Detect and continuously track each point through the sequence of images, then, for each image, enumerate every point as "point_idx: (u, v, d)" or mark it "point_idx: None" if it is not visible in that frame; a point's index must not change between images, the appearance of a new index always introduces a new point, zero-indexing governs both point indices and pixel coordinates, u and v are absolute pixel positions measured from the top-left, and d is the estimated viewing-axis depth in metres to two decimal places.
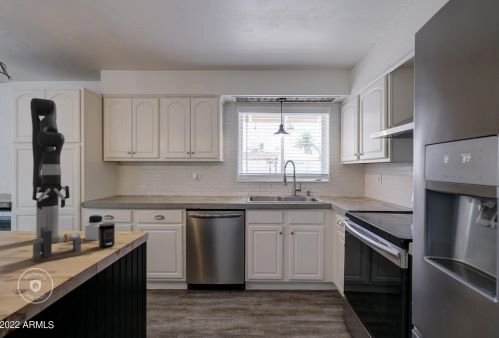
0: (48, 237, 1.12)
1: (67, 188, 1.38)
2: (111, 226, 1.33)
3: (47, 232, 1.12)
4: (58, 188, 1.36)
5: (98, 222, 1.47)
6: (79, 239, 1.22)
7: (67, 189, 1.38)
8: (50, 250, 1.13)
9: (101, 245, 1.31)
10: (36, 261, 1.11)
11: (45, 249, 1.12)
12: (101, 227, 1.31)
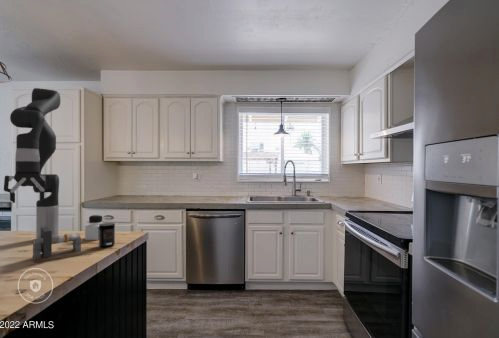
0: (48, 237, 1.12)
1: (47, 178, 1.16)
2: (111, 226, 1.33)
3: (47, 232, 1.12)
4: (36, 177, 1.13)
5: (98, 222, 1.47)
6: (79, 239, 1.22)
7: (47, 179, 1.16)
8: (50, 250, 1.13)
9: (101, 245, 1.31)
10: (36, 261, 1.11)
11: (45, 249, 1.12)
12: (101, 227, 1.31)
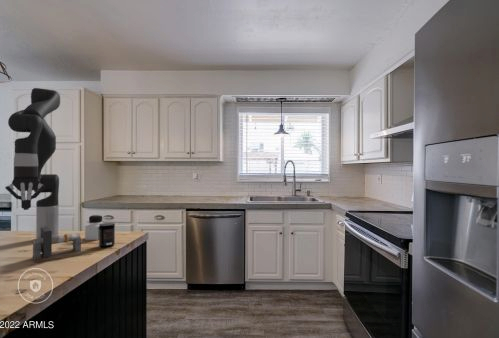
0: (48, 237, 1.12)
1: (42, 188, 1.14)
2: (111, 226, 1.33)
3: (47, 232, 1.12)
4: (34, 185, 1.12)
5: (98, 222, 1.47)
6: (79, 239, 1.22)
7: (41, 188, 1.14)
8: (50, 250, 1.13)
9: (101, 245, 1.31)
10: (36, 261, 1.11)
11: (45, 249, 1.12)
12: (101, 227, 1.31)
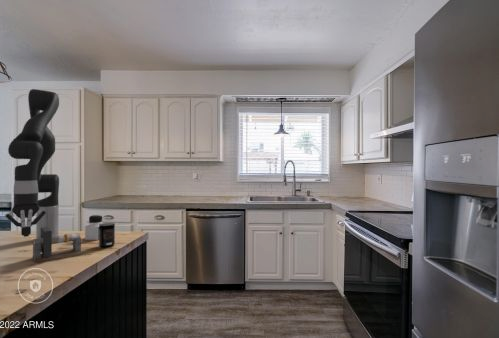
0: (48, 237, 1.12)
1: (42, 214, 1.14)
2: (111, 226, 1.33)
3: (47, 232, 1.12)
4: (34, 211, 1.12)
5: (98, 222, 1.47)
6: (79, 239, 1.22)
7: (41, 215, 1.14)
8: (50, 250, 1.13)
9: (101, 245, 1.31)
10: (36, 261, 1.11)
11: (45, 249, 1.12)
12: (101, 227, 1.31)
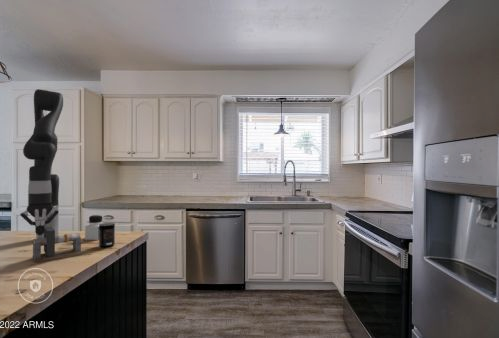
0: (51, 237, 1.13)
1: (55, 213, 1.17)
2: (111, 226, 1.33)
3: (50, 232, 1.13)
4: (48, 211, 1.16)
5: (98, 222, 1.47)
6: (79, 239, 1.22)
7: (54, 214, 1.17)
8: (53, 249, 1.14)
9: (101, 245, 1.31)
10: (36, 261, 1.11)
11: (48, 248, 1.13)
12: (101, 227, 1.31)
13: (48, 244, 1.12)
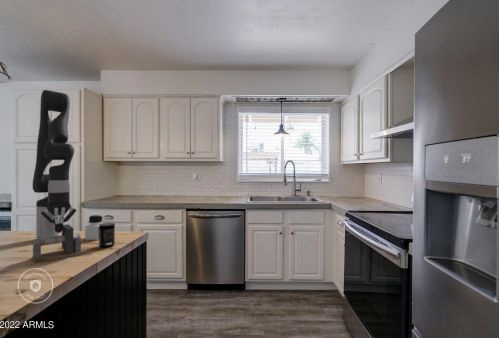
0: (70, 234, 1.18)
1: (73, 211, 1.22)
2: (111, 226, 1.33)
3: (69, 229, 1.17)
4: (66, 209, 1.20)
5: (98, 222, 1.47)
6: (79, 239, 1.22)
7: (72, 212, 1.21)
8: (72, 247, 1.18)
9: (101, 245, 1.31)
10: (36, 261, 1.11)
11: (67, 246, 1.17)
12: (101, 227, 1.31)
13: (67, 241, 1.17)
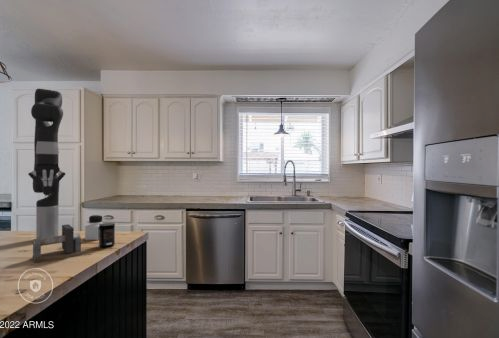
0: (70, 234, 1.18)
1: (62, 175, 1.20)
2: (111, 226, 1.33)
3: (69, 229, 1.17)
4: (55, 172, 1.18)
5: (98, 222, 1.47)
6: (79, 239, 1.22)
7: (61, 176, 1.19)
8: (72, 247, 1.18)
9: (101, 245, 1.31)
10: (36, 261, 1.11)
11: (67, 246, 1.17)
12: (101, 227, 1.31)
13: (67, 241, 1.17)
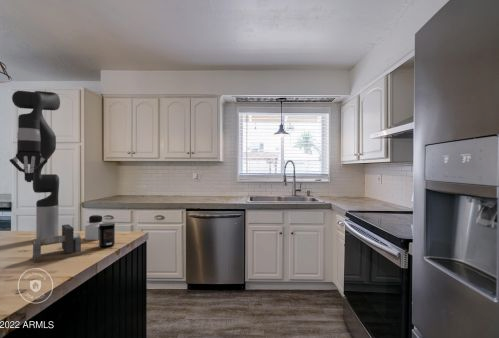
0: (70, 234, 1.18)
1: (44, 162, 1.20)
2: (111, 226, 1.33)
3: (69, 229, 1.17)
4: (36, 159, 1.18)
5: (98, 222, 1.47)
6: (79, 239, 1.22)
7: (43, 163, 1.20)
8: (72, 247, 1.18)
9: (101, 245, 1.31)
10: (36, 261, 1.11)
11: (67, 246, 1.17)
12: (101, 227, 1.31)
13: (67, 241, 1.17)
